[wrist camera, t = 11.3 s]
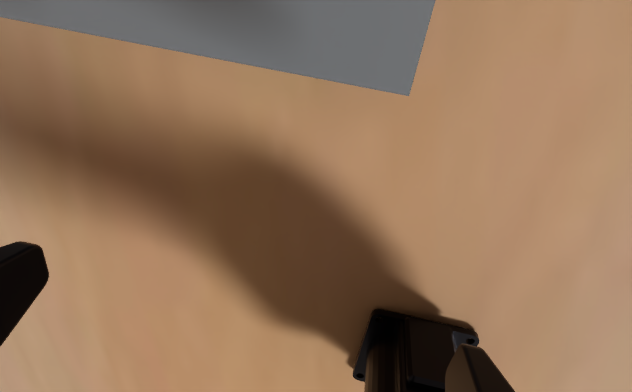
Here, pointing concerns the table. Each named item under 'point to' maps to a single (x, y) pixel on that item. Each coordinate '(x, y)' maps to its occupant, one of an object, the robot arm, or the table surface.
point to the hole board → (260, 32)
